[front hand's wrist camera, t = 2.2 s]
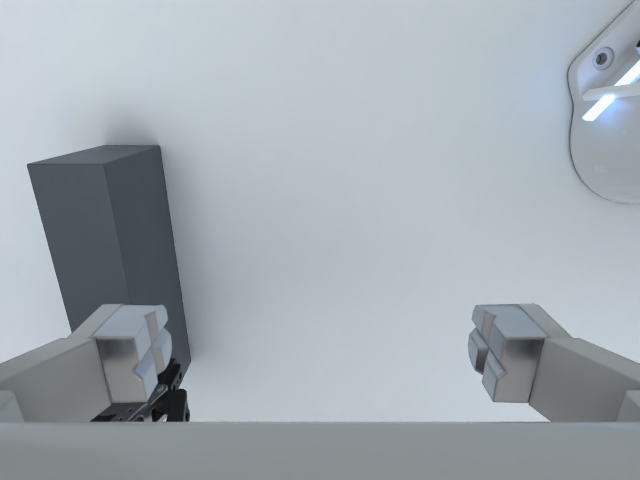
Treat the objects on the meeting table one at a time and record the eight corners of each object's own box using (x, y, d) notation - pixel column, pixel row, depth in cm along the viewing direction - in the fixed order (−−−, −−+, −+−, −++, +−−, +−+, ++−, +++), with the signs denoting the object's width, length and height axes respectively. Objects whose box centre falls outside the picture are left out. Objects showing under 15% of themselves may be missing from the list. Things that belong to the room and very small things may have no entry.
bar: (102, 145, 34) (25, 163, 25) (160, 145, 34) (103, 163, 25) (145, 361, 42) (98, 433, 33) (191, 361, 42) (156, 433, 33)
